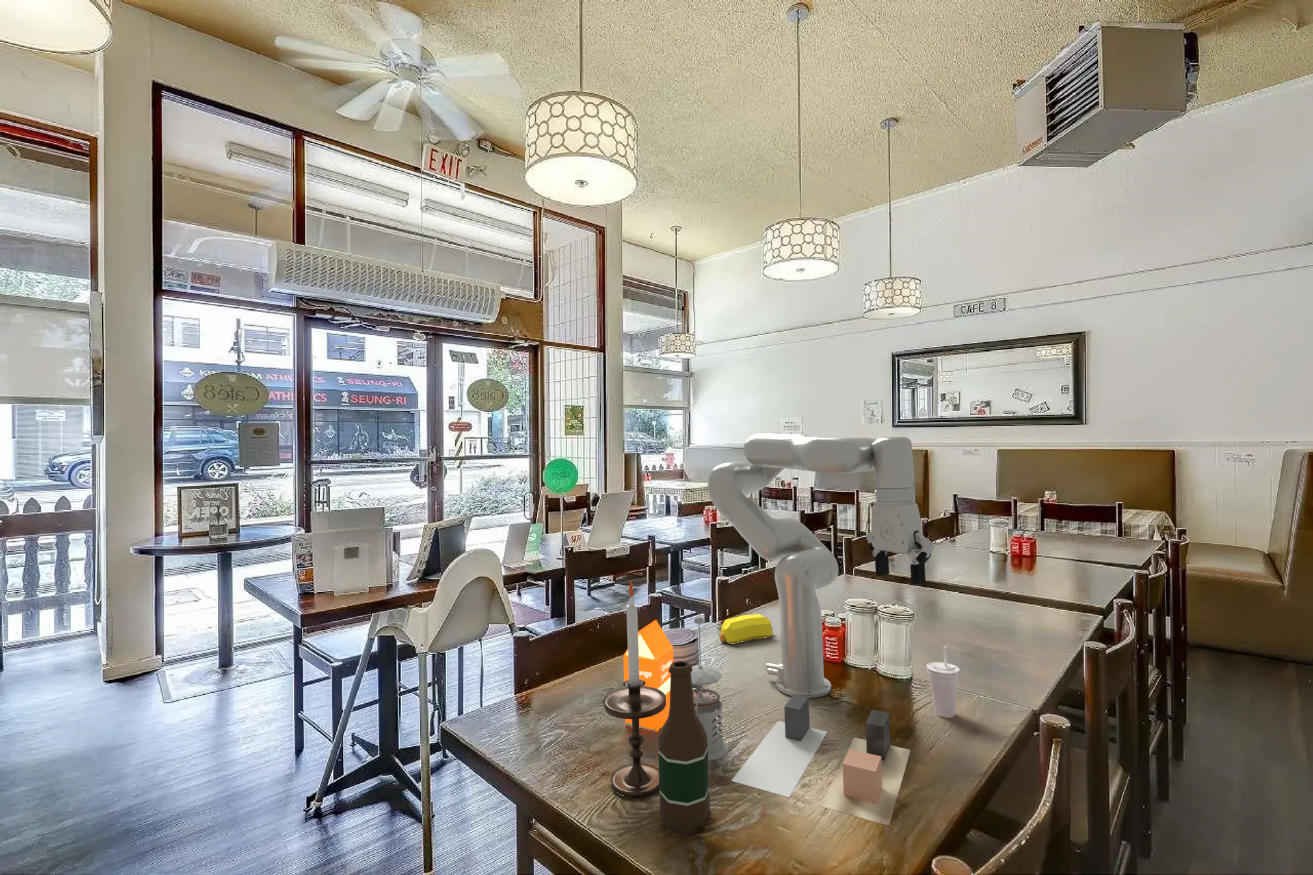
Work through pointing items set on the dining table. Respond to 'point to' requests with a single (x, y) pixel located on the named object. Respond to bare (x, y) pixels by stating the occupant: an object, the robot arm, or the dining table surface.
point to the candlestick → (635, 717)
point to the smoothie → (944, 686)
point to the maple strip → (891, 773)
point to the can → (684, 645)
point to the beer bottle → (683, 758)
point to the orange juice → (653, 669)
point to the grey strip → (783, 751)
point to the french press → (708, 705)
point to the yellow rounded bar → (745, 628)
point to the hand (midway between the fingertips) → (899, 579)
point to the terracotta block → (862, 776)
